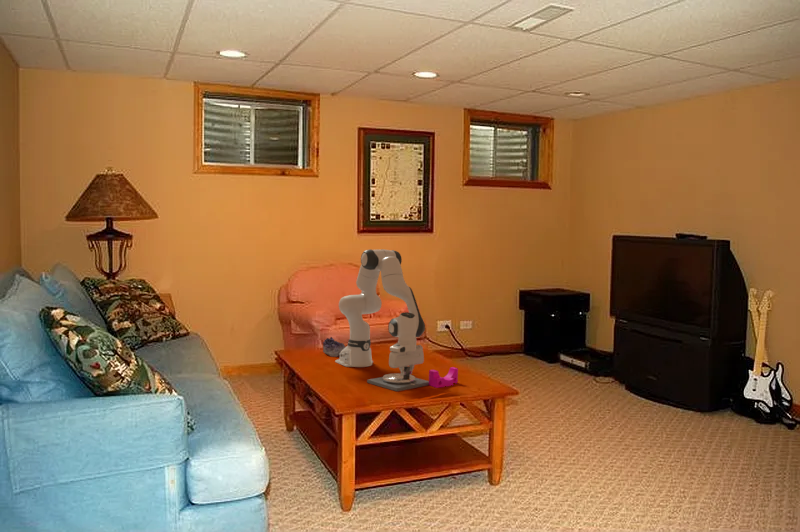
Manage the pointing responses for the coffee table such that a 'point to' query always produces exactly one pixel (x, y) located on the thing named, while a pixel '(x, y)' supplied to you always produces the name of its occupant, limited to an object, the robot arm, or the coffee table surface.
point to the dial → (399, 377)
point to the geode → (332, 347)
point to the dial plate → (398, 387)
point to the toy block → (445, 381)
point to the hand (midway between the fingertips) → (406, 374)
